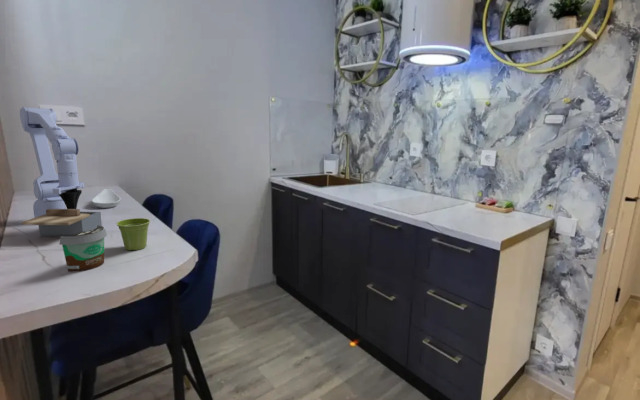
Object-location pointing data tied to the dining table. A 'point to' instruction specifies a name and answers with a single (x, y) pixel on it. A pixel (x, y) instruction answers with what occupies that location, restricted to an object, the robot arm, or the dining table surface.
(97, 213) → the box
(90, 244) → the food container
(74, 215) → the lid
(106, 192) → the spoon rest
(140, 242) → the plant pot
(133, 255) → the dining table surface
